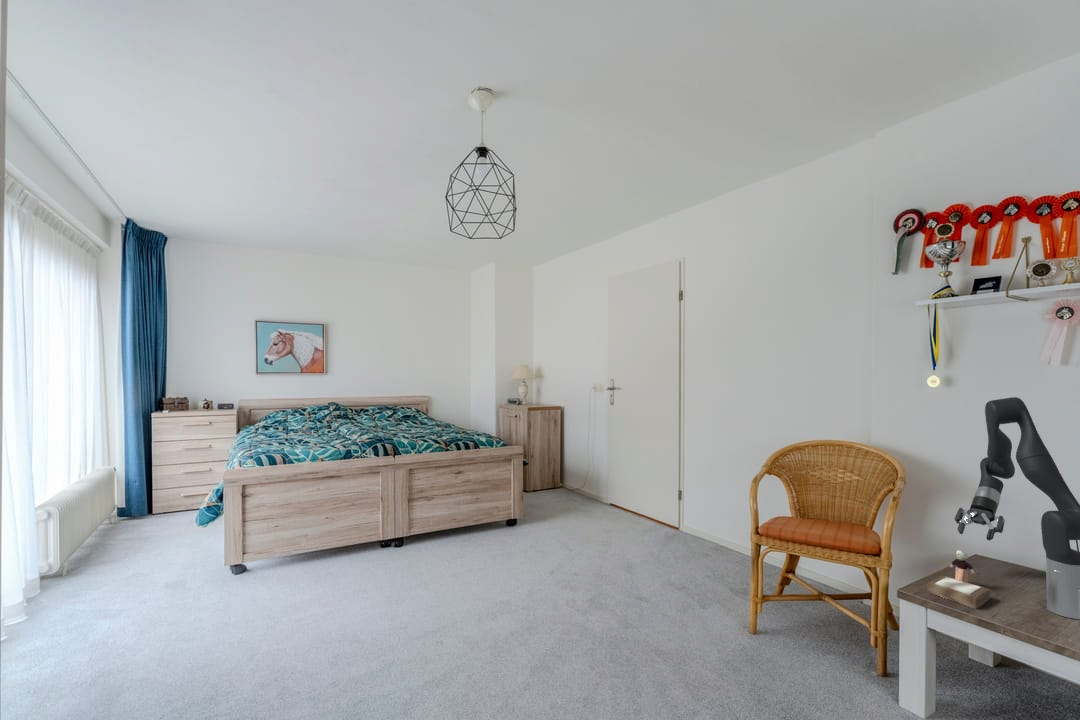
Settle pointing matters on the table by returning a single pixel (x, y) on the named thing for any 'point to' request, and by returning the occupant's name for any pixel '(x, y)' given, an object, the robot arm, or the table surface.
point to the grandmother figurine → (962, 566)
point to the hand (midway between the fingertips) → (974, 536)
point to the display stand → (959, 591)
